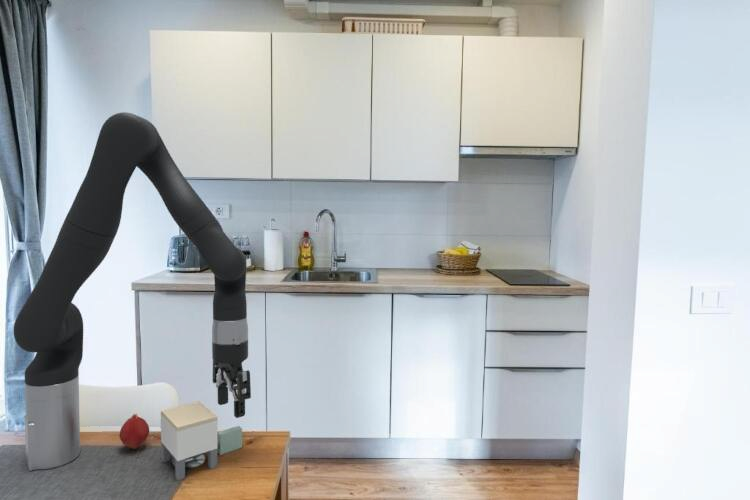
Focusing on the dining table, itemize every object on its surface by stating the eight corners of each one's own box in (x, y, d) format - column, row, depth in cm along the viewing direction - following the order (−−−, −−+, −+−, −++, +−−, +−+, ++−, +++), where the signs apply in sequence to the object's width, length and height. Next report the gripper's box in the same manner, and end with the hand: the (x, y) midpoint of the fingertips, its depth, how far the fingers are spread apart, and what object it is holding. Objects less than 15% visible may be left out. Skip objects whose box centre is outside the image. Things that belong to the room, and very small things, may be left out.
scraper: (180, 473, 94) (179, 451, 94) (171, 462, 98) (171, 442, 97) (245, 450, 103) (245, 431, 103) (235, 441, 107) (235, 423, 107)
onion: (114, 450, 102) (113, 415, 101) (138, 439, 107) (137, 406, 106) (131, 457, 99) (130, 421, 98) (154, 446, 104) (154, 411, 103)
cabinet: (177, 480, 91) (177, 427, 90) (161, 459, 99) (160, 410, 98) (217, 466, 96) (217, 416, 96) (198, 447, 104) (198, 401, 103)
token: (190, 471, 95) (191, 467, 95) (178, 463, 98) (178, 460, 98) (209, 462, 99) (209, 458, 99) (196, 454, 101) (196, 451, 101)
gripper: (200, 334, 104) (201, 404, 106) (227, 348, 94) (228, 426, 95) (232, 329, 109) (233, 396, 110) (261, 342, 99) (262, 416, 100)
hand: (231, 410), depth 103 cm, fingers open, 8 cm apart
